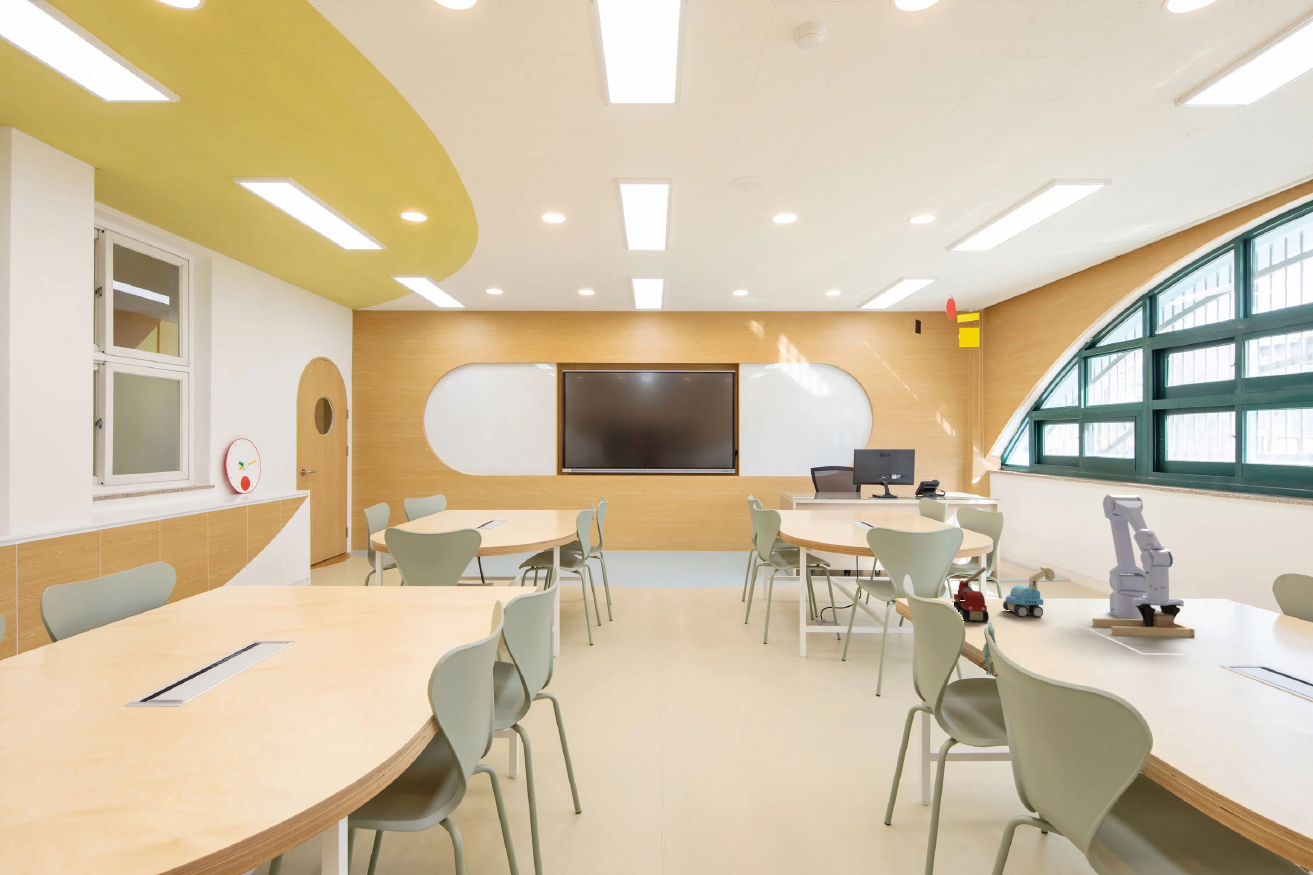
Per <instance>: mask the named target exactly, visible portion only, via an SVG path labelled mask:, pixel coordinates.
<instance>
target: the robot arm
mask: <svg viewBox="0 0 1313 875" xmlns="http://www.w3.org/2000/svg"><path fill="white" fill-rule="evenodd" d="M1143 506H1144V502H1143V500H1142V498H1141V496H1140V495H1138V494H1132V495H1130V494H1127V495H1126V494H1125V495H1122V494H1106V495H1105V496H1104V498H1103V501H1102V507H1103V512H1104V513H1103V514H1104V517H1105V518H1106V519H1109V521H1110V522H1109V524H1110V527H1111V528H1110V530H1111V535H1112V541H1113V544H1114V552H1115V556H1116V563H1117V565H1116V566H1115V567H1113V568H1112V569H1110V570H1109V580H1108V581H1109V586H1110V588H1111V589H1112V590H1113V591H1112V592H1111V593H1110V595H1109V612H1107V614H1110V615H1112V616H1115V617H1118V618H1119V619H1143V620H1144V623H1145V626H1146V627H1153V617H1154V613H1155V610H1157V609H1156V608H1153V607H1152V606H1159V608H1160V611H1161V612H1164V613H1167V614H1170V615H1173V616H1174V620H1175V619H1176V617H1177V615H1178V614H1179V613H1180V612H1181V608H1180V607H1182V608H1183V607H1184V606H1185V605H1184V600H1182V599H1179V598H1170V579H1169V576H1170V575H1169V568H1171V567H1172V566H1173V564H1174V561H1173V560H1174V557H1173V555H1172V553H1171V551H1170V550H1169V549H1168V548H1167V549H1166V547H1164V546H1162V544H1161V541H1160V540H1159V539H1158V536H1157V535H1156V533H1155V531H1153V530H1151V529H1149V528H1148V526H1147V524H1146V521H1145V518H1144V515H1143V513H1142V512H1143V509H1144V508H1143ZM1129 525H1130V526H1129ZM1129 527H1131V528H1132V529H1133V531H1134V532H1135V533H1134V535H1133V539H1134V540H1135V543H1136V544H1137V546H1138V548H1139V550H1140V552H1141V553H1140V556H1139V557H1140V561H1141V562H1140V563H1141V564H1142V568H1140V567H1138V566H1137V564H1136V560H1135V554H1134V553H1135V552H1134V548H1133V543H1132V538H1131V532H1130V528H1129ZM1144 596H1145V597H1144Z"/></svg>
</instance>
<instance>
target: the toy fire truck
mask: <svg viewBox="0 0 1313 875" xmlns="http://www.w3.org/2000/svg"><path fill="white" fill-rule="evenodd" d="M986 570H987V567H986V566H982V567H981V568H979V569H978V570H977V571H975V573H973V574H971V576H969V577H968V578H967V579H965V580H960V581H959V584H958V589H957V593H954V594H953V600H954V601H953V600H952V602H954V607H955V608H956V609H957V610H958V612H960V614H961V615H962V617H963V619H964V621H965V622H967V621H966V620H968V621H979V622H981V621H988V622H989V620H990V617H989V612H988V606H987V605H986V600H985V596H984V594H983V592H981V591H980V590H973V588H972V587H970V586H969V584H970V583H971V582H972V581H974V580H975V579H977V577H979V576H980V575H981V574H983V573H984V572H986ZM960 600H965V601H960Z"/></svg>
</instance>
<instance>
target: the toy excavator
mask: <svg viewBox="0 0 1313 875" xmlns="http://www.w3.org/2000/svg"><path fill="white" fill-rule="evenodd" d="M1039 569H1040V570H1037V571H1036V572H1034V573H1033V574H1031V575H1030V576H1029V578H1028V579H1029V580H1028V586H1026V585H1024V584H1018V585H1017V584H1016V585H1015V586H1013V587H1012V588H1011V590H1010V594H1008V595H1007V596H1005V600H1004V601H1003V603H1002V607H1003V609H1004V610H1005V609H1006V610H1010V611H1012V612H1013V613H1014V614H1015V616H1018V617H1020V618H1022V617H1026V616H1028V615H1029V614H1030V615H1031V616H1034V617H1035V618H1036V617H1037V618H1041V617H1042V616H1043V615H1044V609H1043V608H1042V607H1041V606H1043V605H1044V599H1043V598H1041V592H1040V591H1039V590H1038V581H1039V580H1041V579H1043V578H1044V579H1045V580H1046V581H1050V582H1052V581H1053V580H1054V579H1055V576H1056V575H1055V574H1056V573H1055V572H1054V571H1053V569H1051V568H1049V567H1047V566H1040V567H1039ZM1006 610H1005V611H1006Z"/></svg>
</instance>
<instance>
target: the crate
mask: <svg viewBox="0 0 1313 875" xmlns="http://www.w3.org/2000/svg"><path fill="white" fill-rule="evenodd" d="M1174 622H1175V619H1174V616H1173V615H1170V614H1167V613H1164V612H1162V611H1161V610H1158V609H1156V610H1155V613H1154V617H1153V627H1167V628H1174ZM1143 627H1146V626H1145V623H1144V620H1143Z"/></svg>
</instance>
